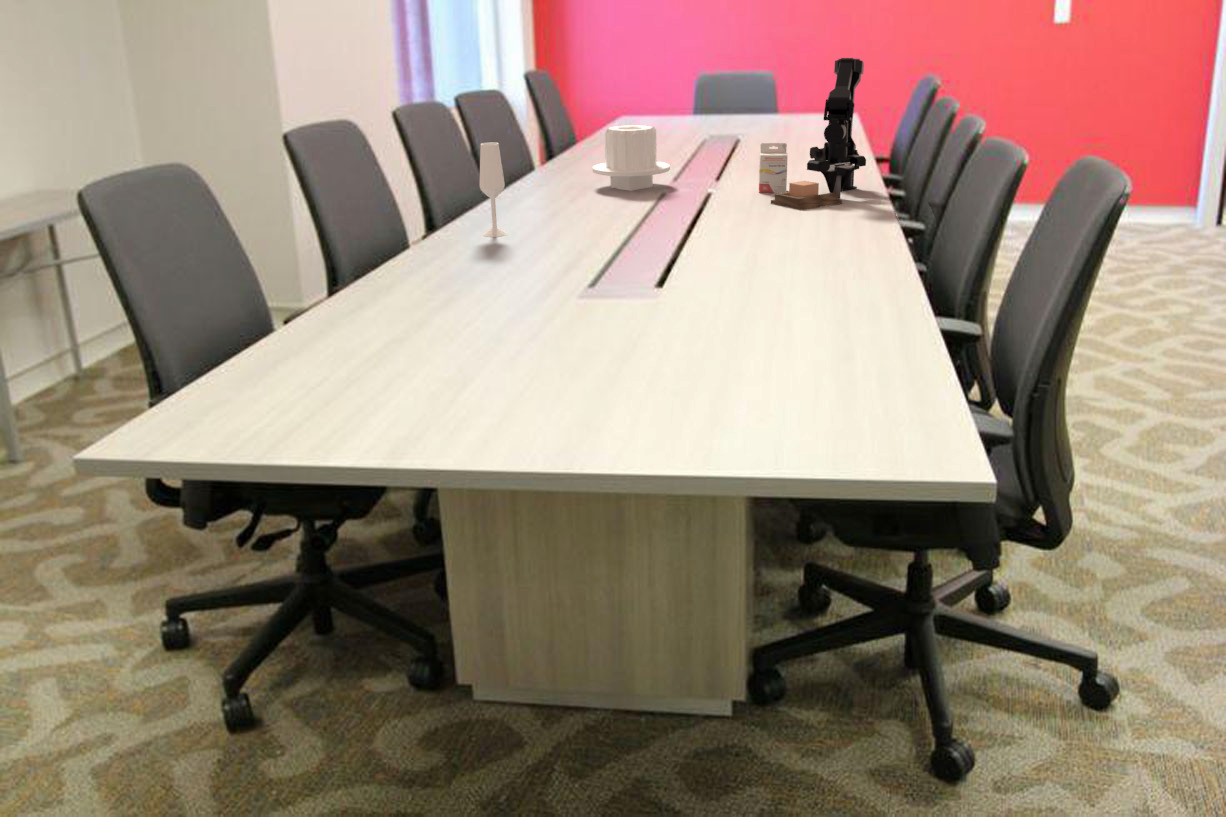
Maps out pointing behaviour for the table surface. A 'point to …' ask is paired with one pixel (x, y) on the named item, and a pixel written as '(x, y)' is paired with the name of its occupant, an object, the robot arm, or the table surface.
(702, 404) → the table surface
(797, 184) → the tethered block
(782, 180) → the ink cartridge box
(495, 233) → the champagne flute
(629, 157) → the flanged gear
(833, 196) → the wooden tray
